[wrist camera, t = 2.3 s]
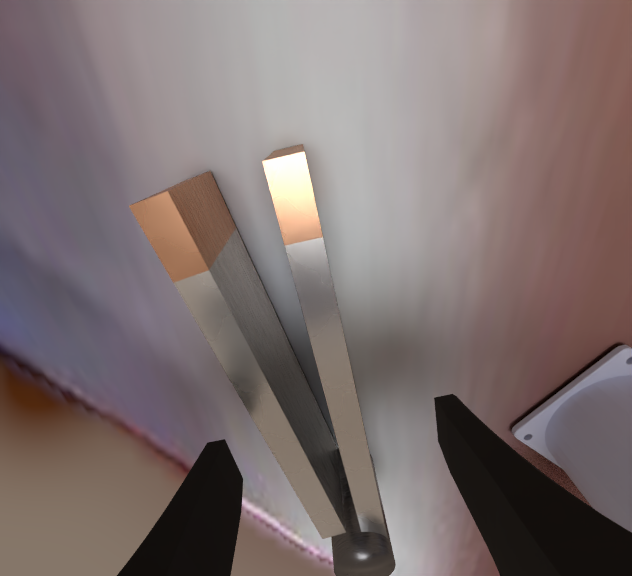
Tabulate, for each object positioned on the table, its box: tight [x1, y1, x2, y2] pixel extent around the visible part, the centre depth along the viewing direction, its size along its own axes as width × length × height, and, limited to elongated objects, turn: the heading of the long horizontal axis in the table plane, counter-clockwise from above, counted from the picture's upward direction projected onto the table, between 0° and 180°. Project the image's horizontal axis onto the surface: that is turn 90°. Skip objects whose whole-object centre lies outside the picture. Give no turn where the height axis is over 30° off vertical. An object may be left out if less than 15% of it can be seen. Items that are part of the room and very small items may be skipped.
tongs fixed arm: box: [262, 144, 395, 576], centre depth 16 cm, size 20×3×6 cm, turn 13°
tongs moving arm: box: [129, 171, 346, 539], centre depth 15 cm, size 17×1×5 cm, turn 20°
